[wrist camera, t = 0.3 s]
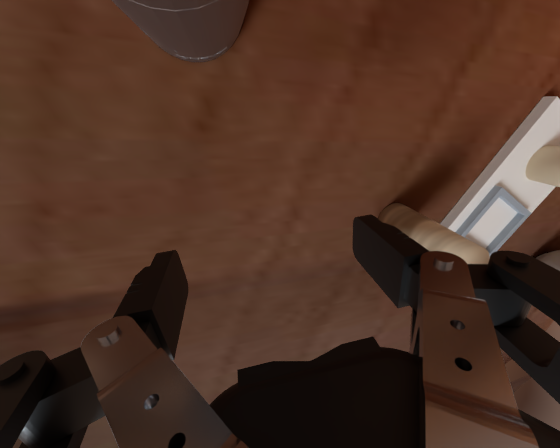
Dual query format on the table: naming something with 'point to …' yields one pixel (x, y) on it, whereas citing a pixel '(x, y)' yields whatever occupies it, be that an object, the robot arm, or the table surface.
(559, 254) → the teacup
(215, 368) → the table surface
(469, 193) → the board
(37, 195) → the table surface
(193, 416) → the robot arm
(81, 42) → the table surface
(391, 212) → the maple post
